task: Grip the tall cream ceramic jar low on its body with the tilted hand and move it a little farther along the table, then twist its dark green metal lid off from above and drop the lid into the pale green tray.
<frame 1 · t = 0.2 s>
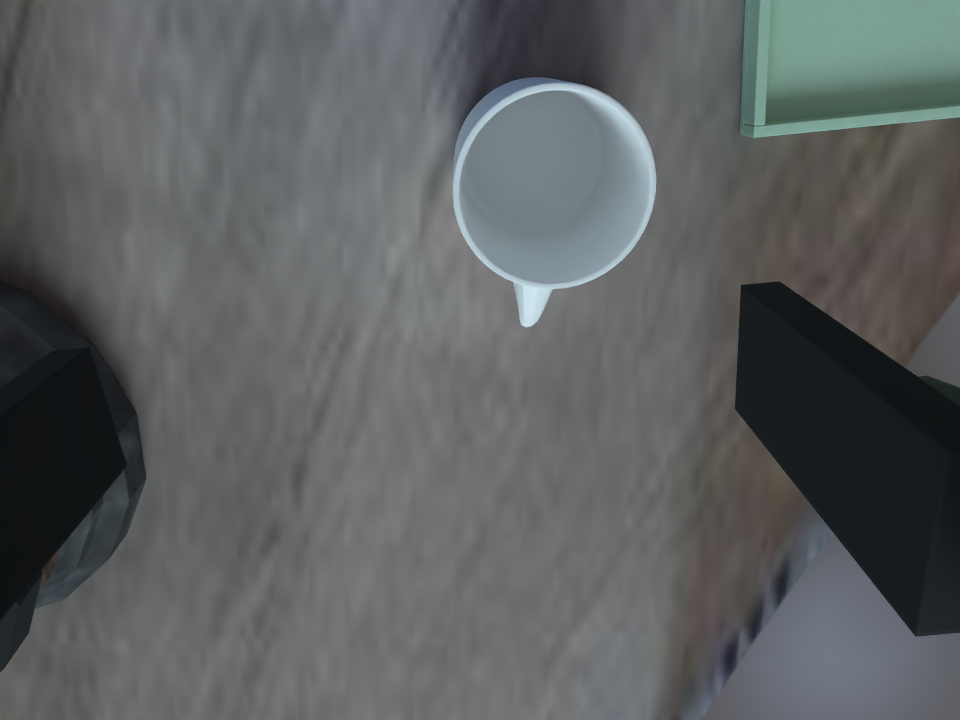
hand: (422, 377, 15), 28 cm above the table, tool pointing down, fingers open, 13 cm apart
mug: (527, 189, 41), on the table
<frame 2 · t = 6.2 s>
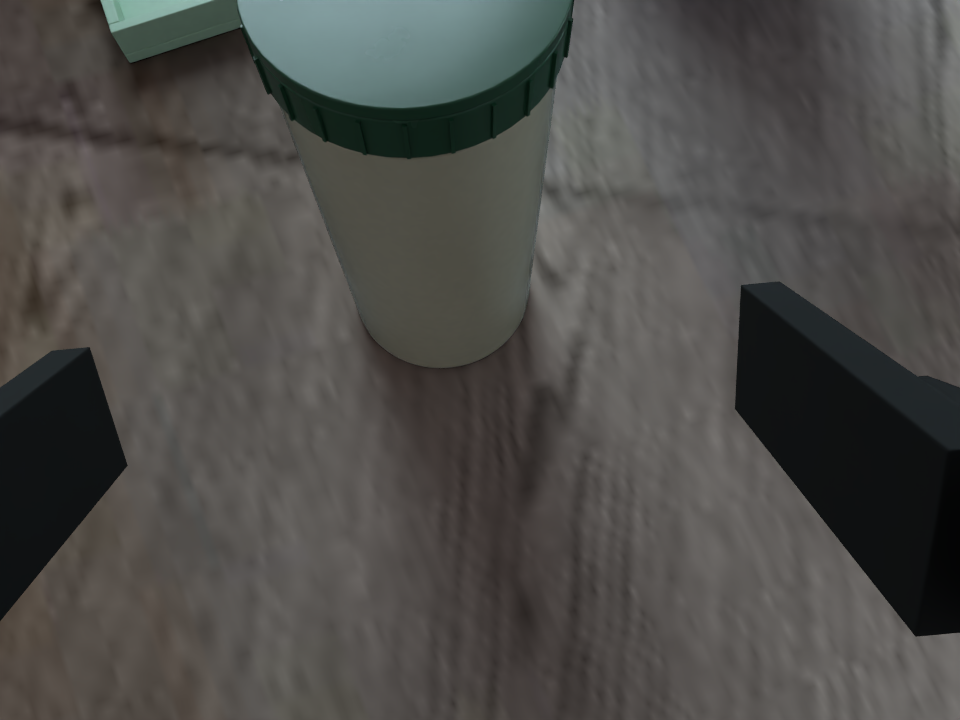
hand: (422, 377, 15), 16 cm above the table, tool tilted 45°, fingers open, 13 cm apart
jar: (442, 287, 34), on the table
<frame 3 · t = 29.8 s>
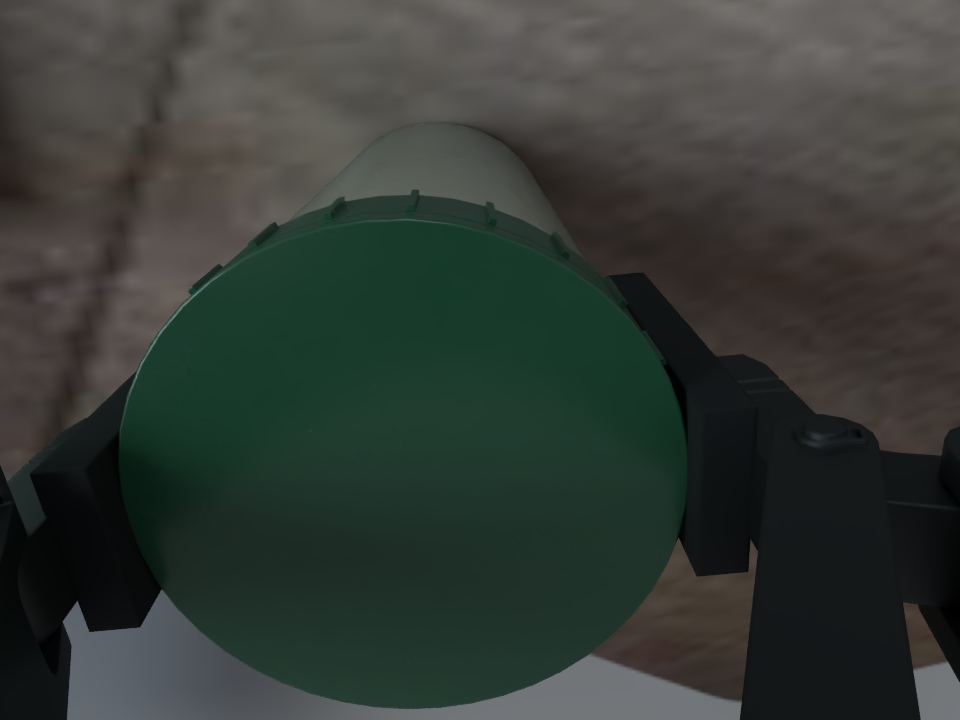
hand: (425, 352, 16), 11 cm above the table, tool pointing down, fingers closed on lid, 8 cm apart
lid: (409, 486, 11), point 17 cm above the table, screwed on, not yet turned, touching gripper
jar: (439, 237, 26), on the table
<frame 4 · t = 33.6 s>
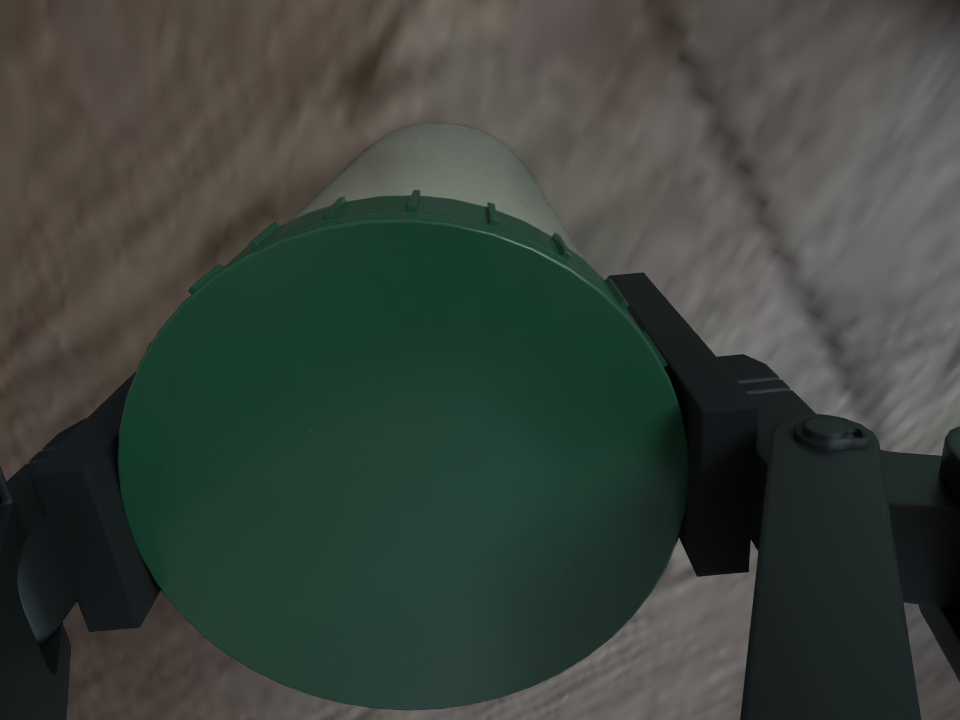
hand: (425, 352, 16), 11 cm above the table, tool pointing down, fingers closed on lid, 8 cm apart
lid: (409, 487, 11), point 17 cm above the table, turned 120° so far, risen 0.3 cm, still on its thread, touching gripper
jar: (439, 237, 27), on the table
when the fingers open (1 cm above the table, at t = 44.2 s): lid drops 5 cm, resting on tray.
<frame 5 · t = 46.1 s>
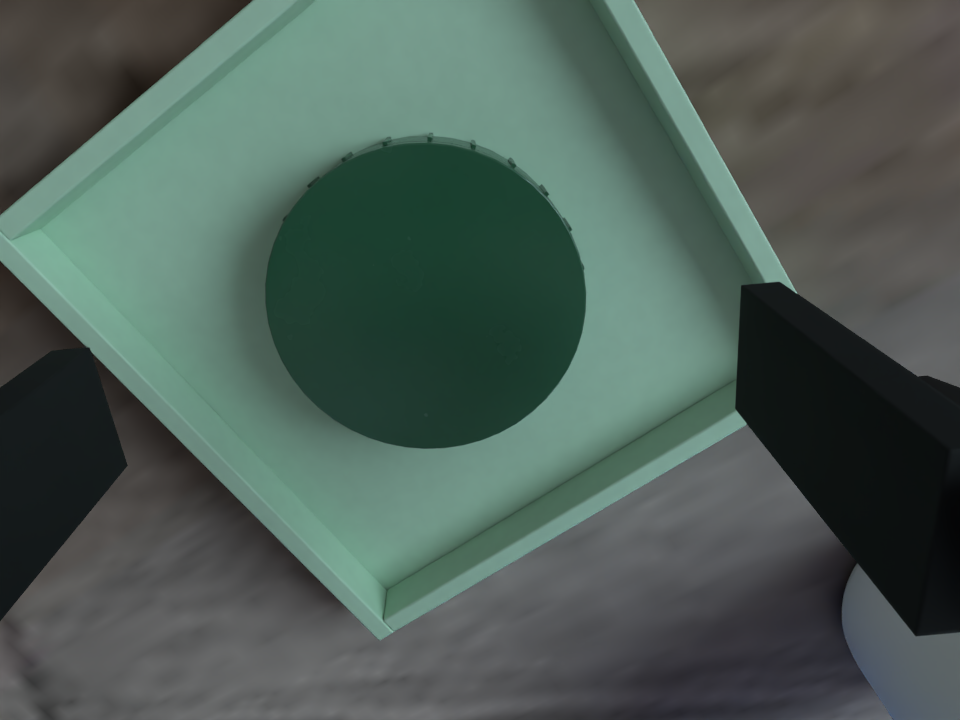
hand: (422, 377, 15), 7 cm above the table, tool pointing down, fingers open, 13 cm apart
tray: (433, 284, 21), on the table
lid: (427, 304, 19), point 2 cm above the table, off its thread, touching tray
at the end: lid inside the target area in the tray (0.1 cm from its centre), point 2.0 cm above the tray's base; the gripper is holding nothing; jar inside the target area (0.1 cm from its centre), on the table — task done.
